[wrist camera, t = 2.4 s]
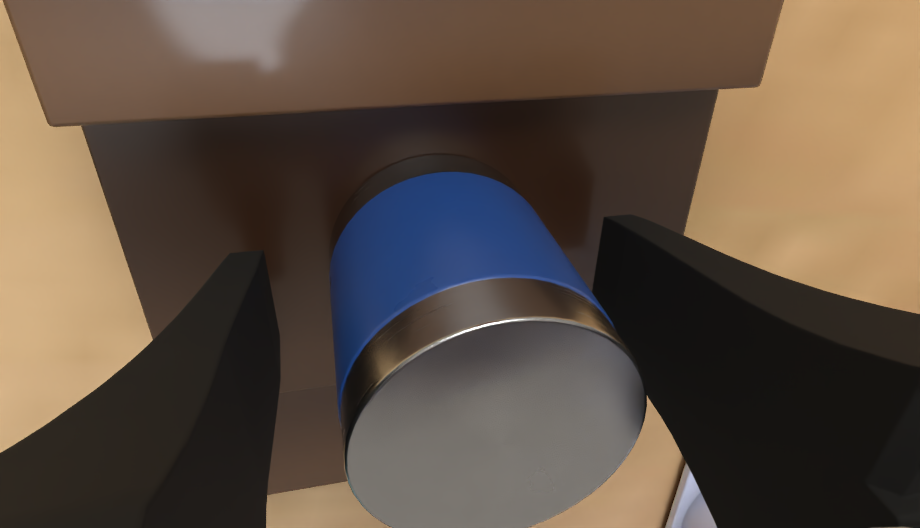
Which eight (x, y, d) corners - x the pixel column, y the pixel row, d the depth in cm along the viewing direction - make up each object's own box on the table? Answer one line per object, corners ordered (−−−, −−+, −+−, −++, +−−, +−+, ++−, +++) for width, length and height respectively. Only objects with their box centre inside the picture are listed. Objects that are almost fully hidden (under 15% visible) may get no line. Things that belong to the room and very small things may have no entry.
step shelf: (597, 409, 21) (646, 499, 18) (228, 469, 18) (213, 583, 15) (744, -378, 10) (920, -479, 7) (-44, -461, 8) (-241, -654, 5)
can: (525, 319, 15) (624, 514, 10) (338, 343, 14) (355, 566, 9) (541, 143, 12) (679, 296, 8) (315, 160, 11) (323, 342, 7)
